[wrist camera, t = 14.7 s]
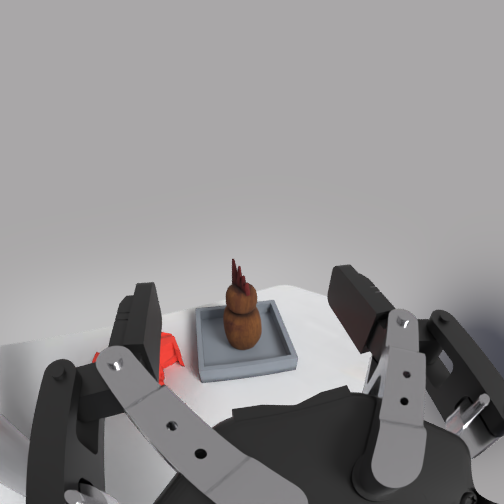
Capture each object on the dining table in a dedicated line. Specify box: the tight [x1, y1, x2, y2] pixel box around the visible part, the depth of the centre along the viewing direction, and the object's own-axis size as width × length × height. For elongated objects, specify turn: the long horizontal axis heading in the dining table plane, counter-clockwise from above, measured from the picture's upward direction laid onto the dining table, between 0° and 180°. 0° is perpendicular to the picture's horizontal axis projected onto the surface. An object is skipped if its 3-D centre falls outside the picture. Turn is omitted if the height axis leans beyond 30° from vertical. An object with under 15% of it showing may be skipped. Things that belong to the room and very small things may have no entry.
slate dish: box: [196, 300, 298, 383], centre depth 44 cm, size 15×15×3 cm
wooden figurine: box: [223, 259, 262, 350], centre depth 41 cm, size 7×6×15 cm
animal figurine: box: [92, 332, 185, 386], centre depth 37 cm, size 12×15×5 cm
